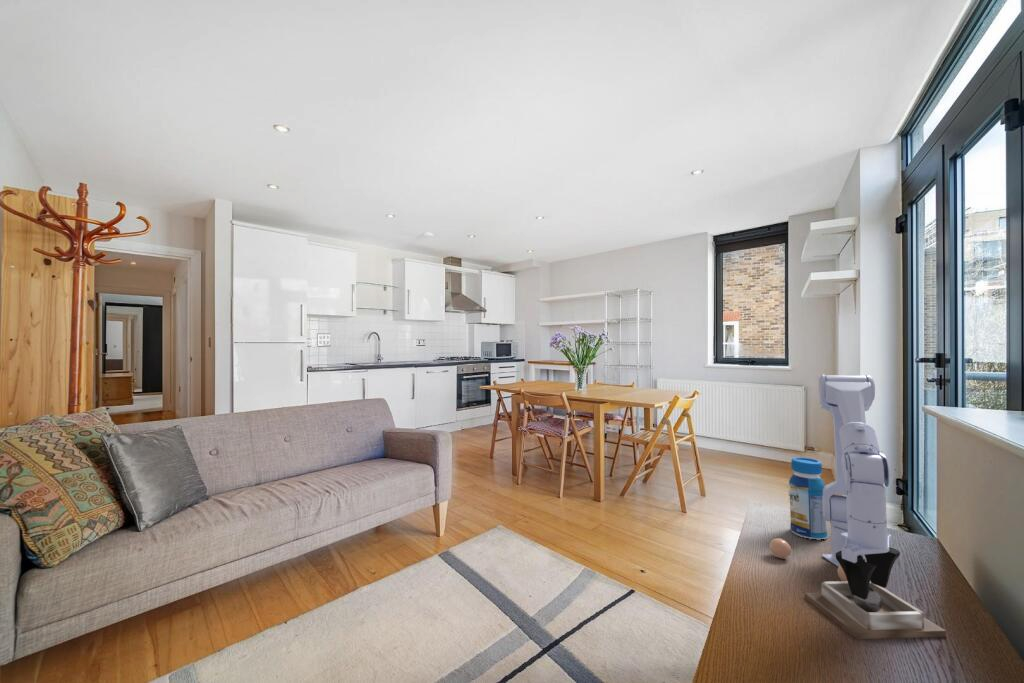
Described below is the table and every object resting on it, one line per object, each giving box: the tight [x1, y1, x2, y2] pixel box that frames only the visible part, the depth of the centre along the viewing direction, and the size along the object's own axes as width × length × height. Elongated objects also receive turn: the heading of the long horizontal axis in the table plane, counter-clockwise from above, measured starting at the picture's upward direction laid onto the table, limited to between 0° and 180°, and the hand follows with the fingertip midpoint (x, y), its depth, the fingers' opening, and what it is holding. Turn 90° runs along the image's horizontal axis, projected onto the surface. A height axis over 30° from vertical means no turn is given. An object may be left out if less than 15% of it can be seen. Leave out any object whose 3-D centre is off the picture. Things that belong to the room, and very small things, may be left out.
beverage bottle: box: [788, 457, 828, 541], centre depth 111 cm, size 8×8×20 cm
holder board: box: [804, 580, 947, 640], centre depth 77 cm, size 16×12×4 cm
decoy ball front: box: [769, 538, 792, 560], centre depth 99 cm, size 4×4×4 cm
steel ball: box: [851, 587, 882, 612], centre depth 77 cm, size 4×4×4 cm
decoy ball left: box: [837, 565, 847, 581], centre depth 87 cm, size 4×4×4 cm
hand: (869, 590), depth 77 cm, fingers open, 7 cm apart
